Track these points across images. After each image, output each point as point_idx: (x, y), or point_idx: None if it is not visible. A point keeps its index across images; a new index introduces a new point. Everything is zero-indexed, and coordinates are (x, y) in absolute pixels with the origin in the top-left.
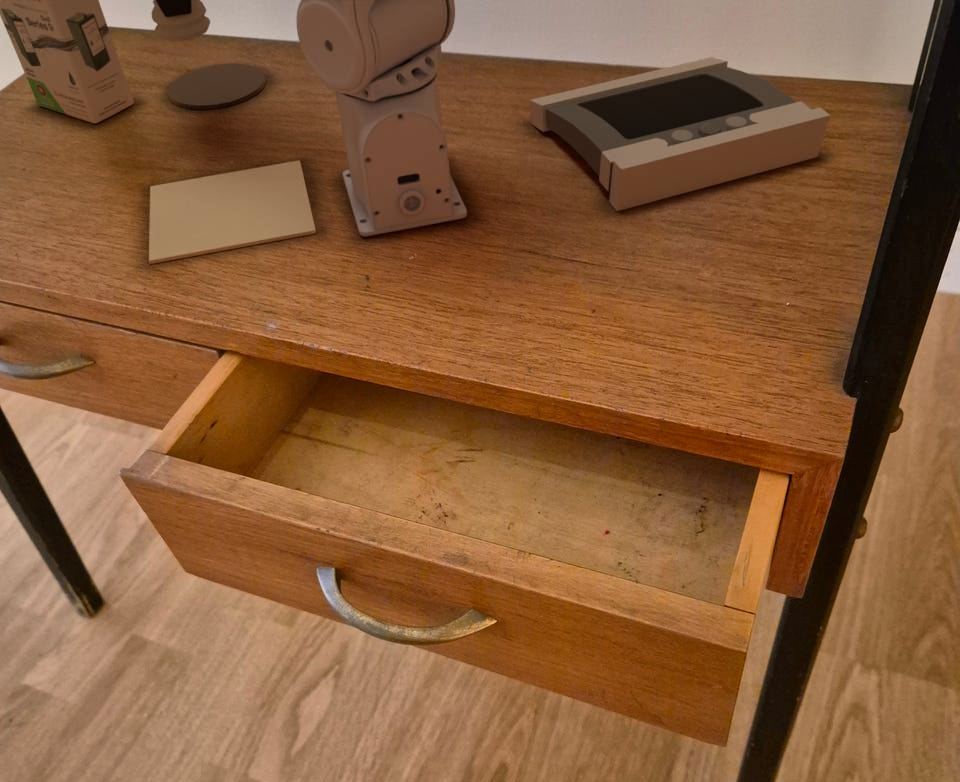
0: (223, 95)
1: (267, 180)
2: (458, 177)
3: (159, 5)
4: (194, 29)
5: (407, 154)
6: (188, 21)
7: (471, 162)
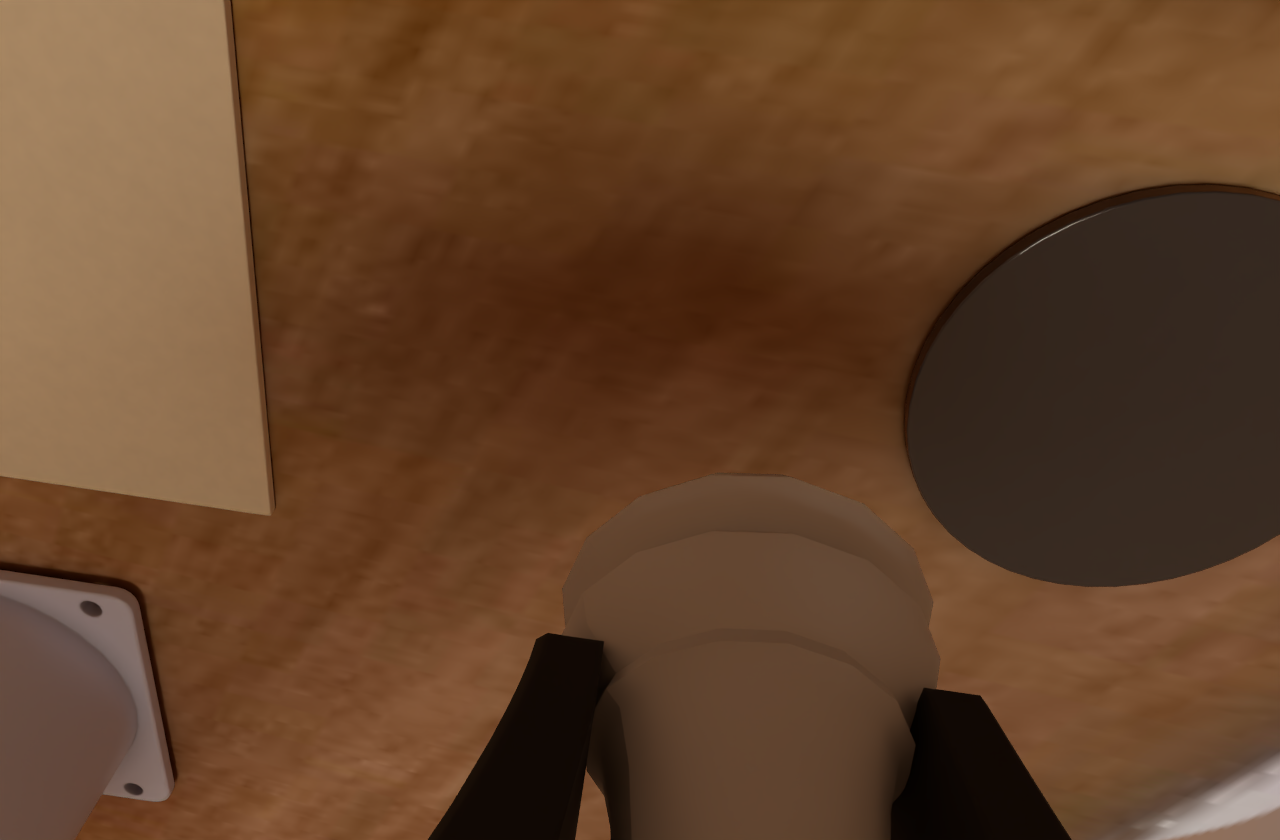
0: (988, 415)
1: (147, 395)
2: None
3: (519, 687)
4: None
5: None
6: None
7: (152, 826)
